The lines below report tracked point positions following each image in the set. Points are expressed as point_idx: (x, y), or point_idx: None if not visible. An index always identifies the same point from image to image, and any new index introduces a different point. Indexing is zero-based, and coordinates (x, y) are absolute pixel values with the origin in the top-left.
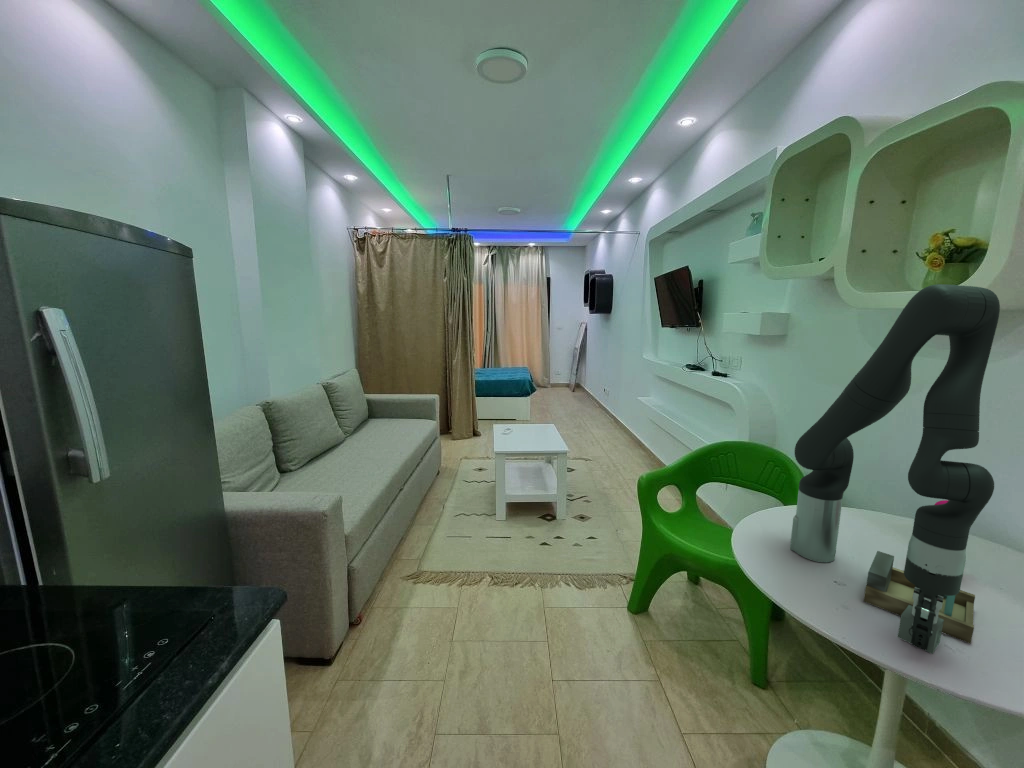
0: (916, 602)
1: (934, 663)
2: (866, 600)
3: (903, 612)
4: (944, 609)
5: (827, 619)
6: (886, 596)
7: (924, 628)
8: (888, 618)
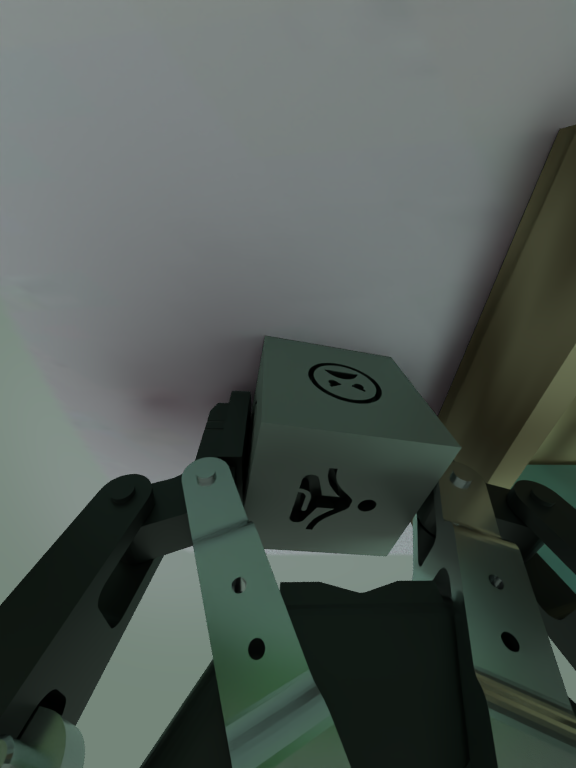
0: (223, 717)
1: (191, 442)
2: (566, 147)
3: (315, 431)
4: (563, 486)
5: None
6: None
7: (131, 553)
8: (417, 289)
